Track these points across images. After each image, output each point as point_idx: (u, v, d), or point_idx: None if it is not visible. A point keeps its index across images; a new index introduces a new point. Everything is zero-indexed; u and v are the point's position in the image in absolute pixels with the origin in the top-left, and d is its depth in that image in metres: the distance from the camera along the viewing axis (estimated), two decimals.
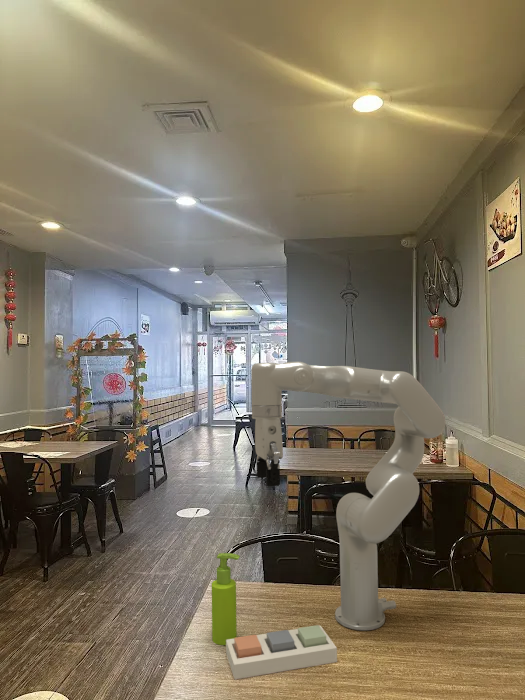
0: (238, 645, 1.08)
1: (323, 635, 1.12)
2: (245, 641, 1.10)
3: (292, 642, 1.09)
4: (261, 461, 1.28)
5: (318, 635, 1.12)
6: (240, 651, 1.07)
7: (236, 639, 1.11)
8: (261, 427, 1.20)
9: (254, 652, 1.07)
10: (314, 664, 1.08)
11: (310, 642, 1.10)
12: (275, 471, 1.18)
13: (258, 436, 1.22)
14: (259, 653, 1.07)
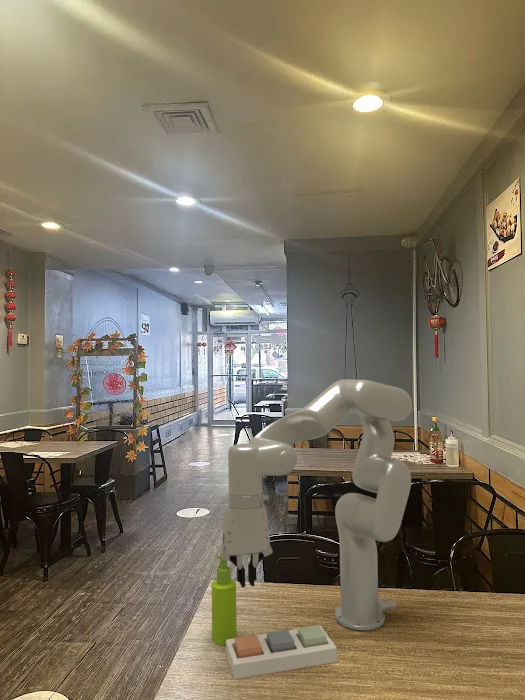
0: (238, 645, 1.08)
1: (323, 635, 1.12)
2: (245, 641, 1.10)
3: (292, 642, 1.09)
4: (243, 566, 1.09)
5: (318, 635, 1.12)
6: (240, 651, 1.07)
7: (236, 639, 1.11)
8: (261, 517, 1.09)
9: (254, 652, 1.07)
10: (314, 664, 1.08)
11: (310, 642, 1.10)
12: None
13: (252, 529, 1.08)
14: (259, 653, 1.07)
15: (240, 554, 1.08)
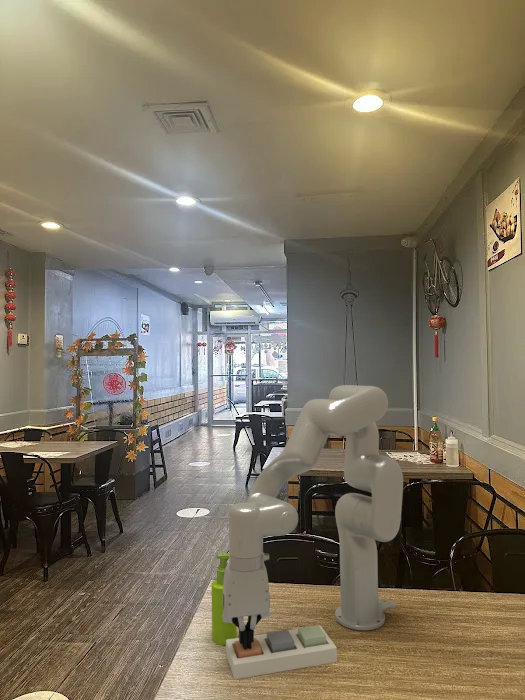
0: (238, 649, 1.08)
1: (323, 635, 1.12)
2: None
3: (292, 642, 1.09)
4: (245, 627, 1.09)
5: (318, 635, 1.12)
6: (240, 655, 1.06)
7: (236, 642, 1.10)
8: (262, 579, 1.09)
9: None
10: (314, 664, 1.08)
11: (310, 642, 1.10)
12: None
13: (252, 592, 1.08)
14: None
15: (240, 616, 1.08)
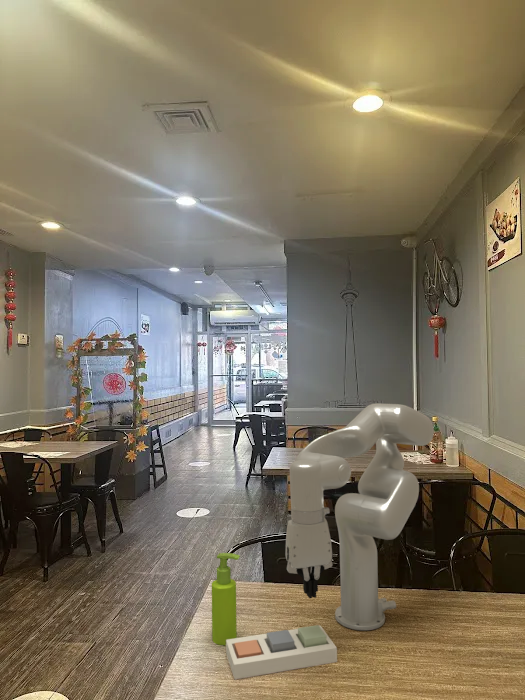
0: (238, 650, 1.08)
1: (323, 635, 1.12)
2: (245, 646, 1.10)
3: (292, 642, 1.09)
4: (309, 578, 1.13)
5: (318, 635, 1.12)
6: (240, 657, 1.06)
7: (236, 644, 1.10)
8: (324, 531, 1.13)
9: None
10: (314, 664, 1.08)
11: (310, 642, 1.10)
12: None
13: (315, 543, 1.12)
14: None
15: (304, 567, 1.12)
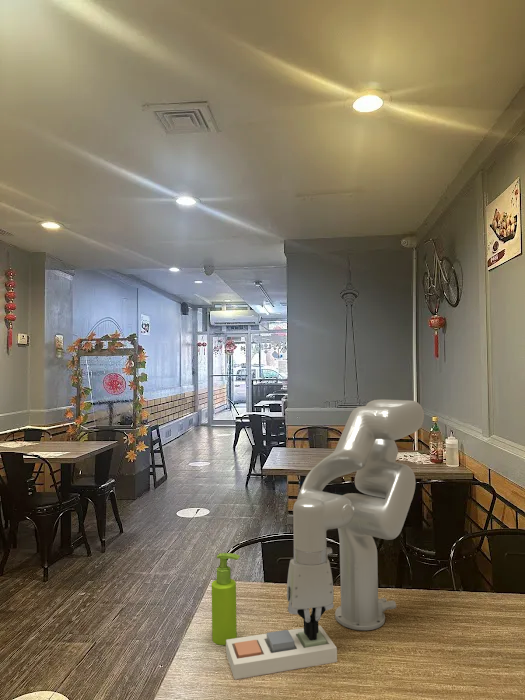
0: (238, 650, 1.08)
1: (323, 639, 1.12)
2: (245, 646, 1.10)
3: (292, 642, 1.09)
4: (310, 619, 1.13)
5: (318, 639, 1.12)
6: (240, 657, 1.06)
7: (236, 644, 1.10)
8: (326, 572, 1.12)
9: None
10: (314, 664, 1.08)
11: None
12: None
13: (317, 584, 1.11)
14: None
15: (306, 608, 1.11)
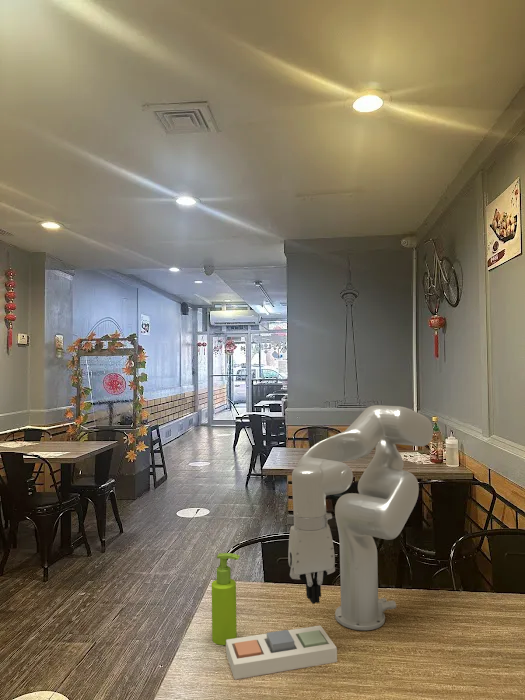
0: (238, 650, 1.08)
1: (323, 640, 1.12)
2: (245, 646, 1.10)
3: (292, 642, 1.09)
4: (312, 583, 1.14)
5: (318, 640, 1.12)
6: (240, 657, 1.06)
7: (236, 644, 1.10)
8: (327, 537, 1.13)
9: None
10: (314, 664, 1.08)
11: None
12: None
13: (318, 549, 1.12)
14: None
15: (308, 573, 1.12)
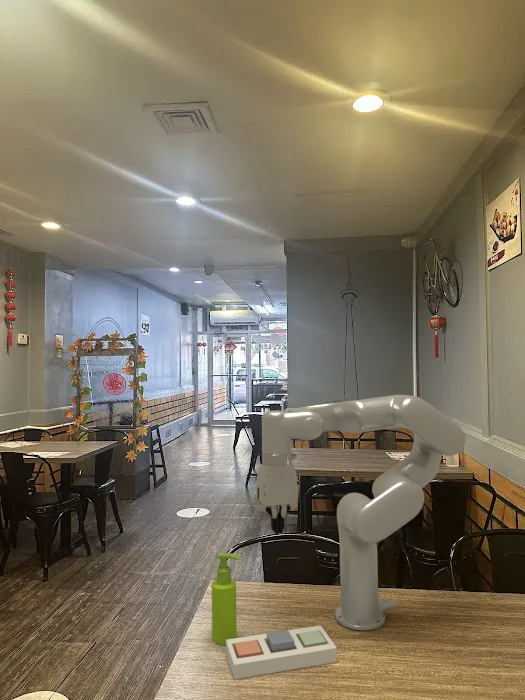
0: (238, 650, 1.08)
1: (323, 640, 1.12)
2: (245, 646, 1.10)
3: (292, 642, 1.09)
4: None
5: (318, 640, 1.12)
6: (240, 657, 1.06)
7: (236, 644, 1.10)
8: (291, 474, 1.25)
9: None
10: (314, 664, 1.08)
11: None
12: None
13: (283, 484, 1.24)
14: None
15: (273, 506, 1.24)
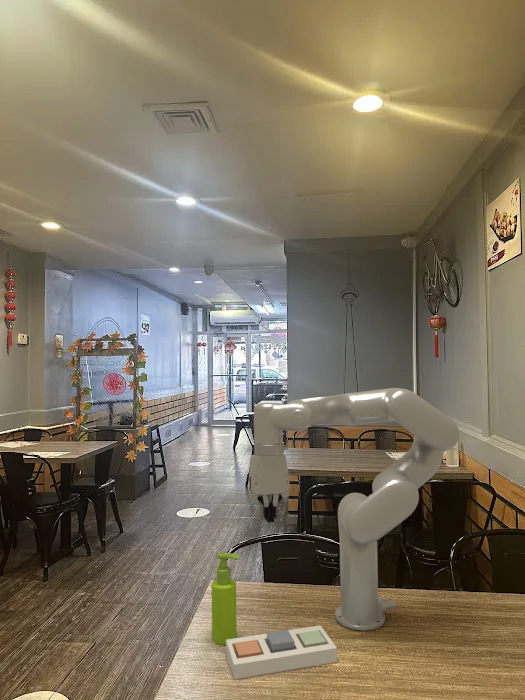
0: (238, 650, 1.08)
1: (323, 640, 1.12)
2: (245, 646, 1.10)
3: (292, 642, 1.09)
4: (269, 505, 1.29)
5: (318, 640, 1.12)
6: (240, 657, 1.06)
7: (236, 644, 1.10)
8: (282, 464, 1.28)
9: None
10: (314, 664, 1.08)
11: None
12: None
13: (274, 474, 1.27)
14: None
15: (264, 495, 1.27)
